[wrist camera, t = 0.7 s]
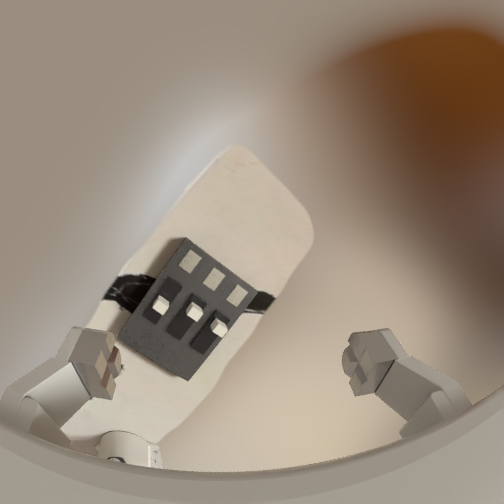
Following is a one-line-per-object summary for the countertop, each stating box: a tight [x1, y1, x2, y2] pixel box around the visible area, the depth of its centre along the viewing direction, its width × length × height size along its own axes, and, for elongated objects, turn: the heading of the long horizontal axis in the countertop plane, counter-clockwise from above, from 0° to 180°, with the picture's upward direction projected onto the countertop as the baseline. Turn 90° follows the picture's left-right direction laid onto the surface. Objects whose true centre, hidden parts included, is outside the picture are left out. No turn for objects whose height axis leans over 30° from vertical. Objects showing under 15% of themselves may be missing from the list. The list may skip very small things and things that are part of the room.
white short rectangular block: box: [210, 318, 228, 338], centre depth 48 cm, size 2×2×3 cm
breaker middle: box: [186, 302, 203, 321], centre depth 47 cm, size 2×2×3 cm
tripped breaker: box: [153, 295, 169, 315], centre depth 45 cm, size 2×2×3 cm
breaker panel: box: [118, 237, 258, 381], centre depth 50 cm, size 24×17×4 cm
